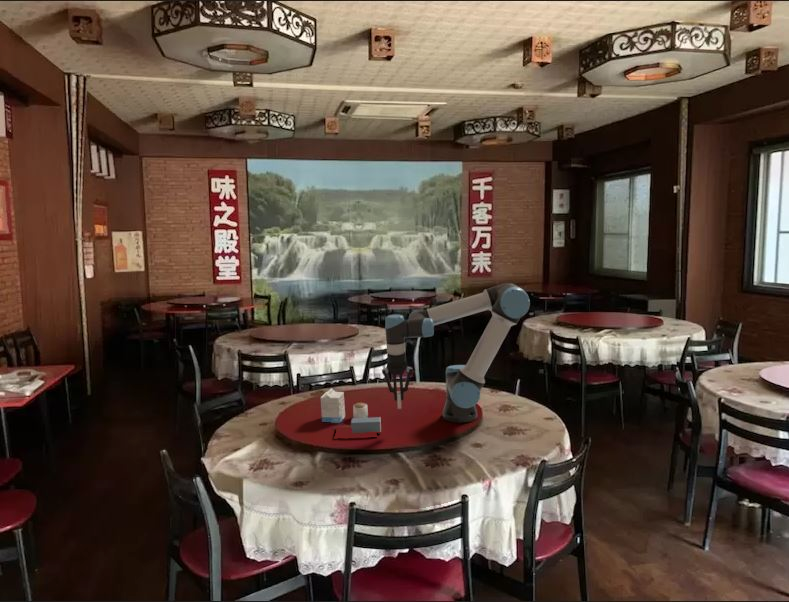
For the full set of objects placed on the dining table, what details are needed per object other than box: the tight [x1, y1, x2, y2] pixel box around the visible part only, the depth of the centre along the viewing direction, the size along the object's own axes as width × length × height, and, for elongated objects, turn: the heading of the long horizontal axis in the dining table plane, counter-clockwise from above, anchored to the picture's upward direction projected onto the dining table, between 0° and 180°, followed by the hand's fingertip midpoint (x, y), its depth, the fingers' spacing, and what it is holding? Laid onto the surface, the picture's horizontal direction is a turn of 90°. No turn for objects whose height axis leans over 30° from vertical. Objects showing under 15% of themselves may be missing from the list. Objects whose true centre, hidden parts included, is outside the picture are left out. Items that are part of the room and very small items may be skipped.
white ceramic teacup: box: [352, 402, 369, 418], centre depth 263 cm, size 6×6×6 cm
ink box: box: [320, 387, 346, 424], centre depth 262 cm, size 9×8×13 cm
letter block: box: [350, 416, 382, 433], centre depth 246 cm, size 5×5×12 cm
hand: (399, 407), depth 245 cm, fingers closed
